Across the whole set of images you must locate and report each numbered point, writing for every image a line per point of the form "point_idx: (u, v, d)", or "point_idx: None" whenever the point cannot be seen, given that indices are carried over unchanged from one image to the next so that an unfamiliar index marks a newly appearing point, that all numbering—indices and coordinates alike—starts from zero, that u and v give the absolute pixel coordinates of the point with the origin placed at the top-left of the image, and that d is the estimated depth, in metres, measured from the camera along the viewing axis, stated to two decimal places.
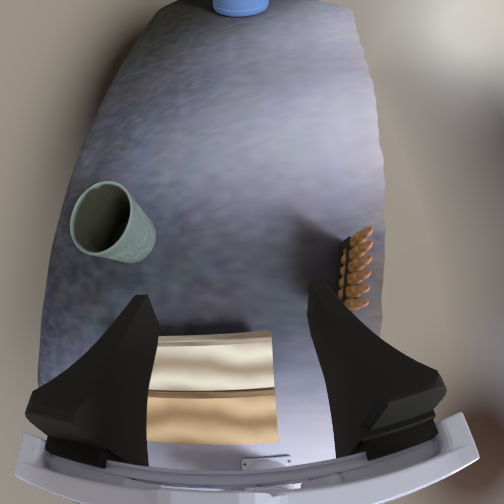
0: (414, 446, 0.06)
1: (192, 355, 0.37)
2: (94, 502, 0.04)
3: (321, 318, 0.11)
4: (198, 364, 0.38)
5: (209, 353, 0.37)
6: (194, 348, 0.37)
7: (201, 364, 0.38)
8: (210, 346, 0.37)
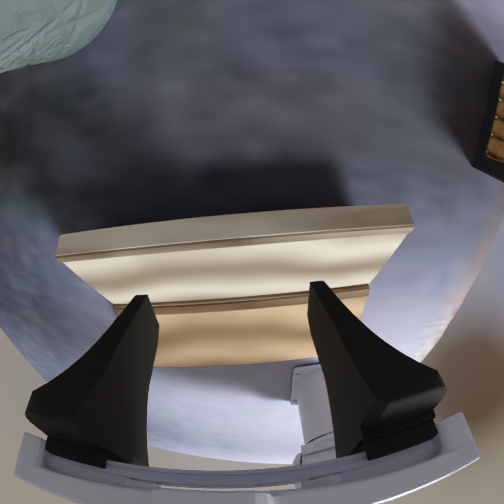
0: (414, 446, 0.06)
1: (234, 259, 0.17)
2: (94, 502, 0.04)
3: (321, 318, 0.11)
4: (245, 269, 0.19)
5: (276, 253, 0.17)
6: (242, 248, 0.16)
7: (253, 269, 0.19)
8: (283, 243, 0.16)
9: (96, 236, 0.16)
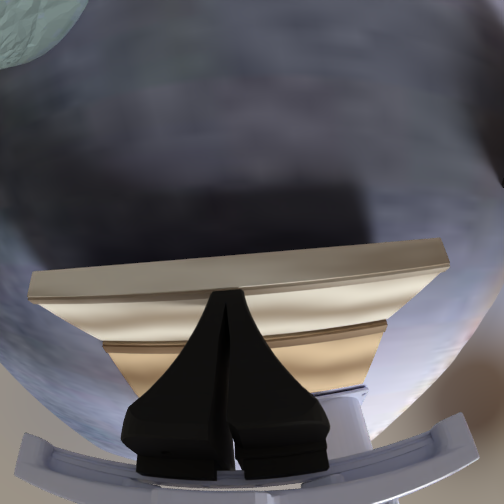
0: (302, 475, 0.06)
1: None
2: (94, 502, 0.04)
3: None
4: None
5: (287, 299, 0.14)
6: (247, 297, 0.13)
7: (259, 314, 0.15)
8: (296, 291, 0.13)
9: (71, 277, 0.12)
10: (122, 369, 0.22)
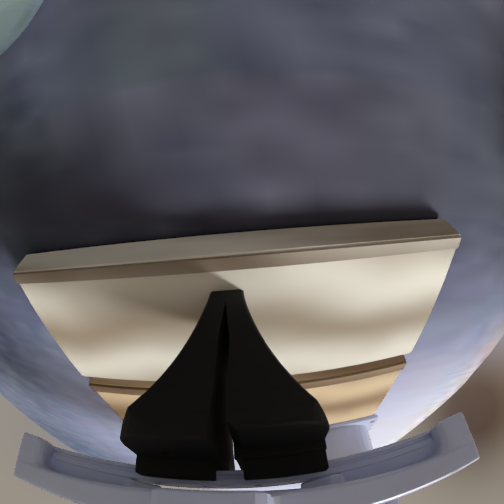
0: (302, 475, 0.06)
1: None
2: (94, 502, 0.04)
3: None
4: None
5: (291, 289, 0.12)
6: (245, 276, 0.12)
7: (261, 322, 0.13)
8: (300, 267, 0.12)
9: (62, 255, 0.12)
10: (112, 405, 0.18)
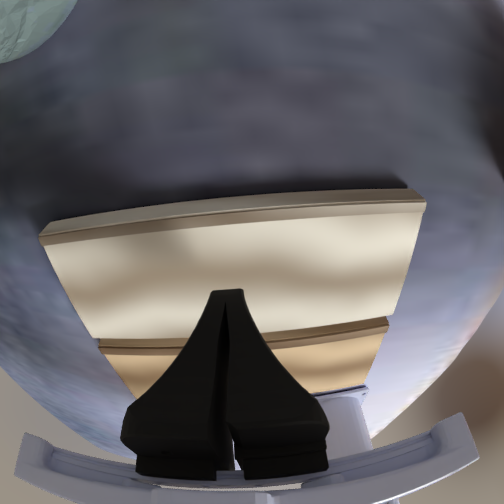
0: (302, 475, 0.06)
1: (231, 252, 0.15)
2: (94, 502, 0.04)
3: None
4: (244, 275, 0.16)
5: (279, 243, 0.15)
6: (240, 231, 0.14)
7: (254, 274, 0.16)
8: (285, 223, 0.14)
9: (85, 219, 0.14)
10: (118, 370, 0.21)
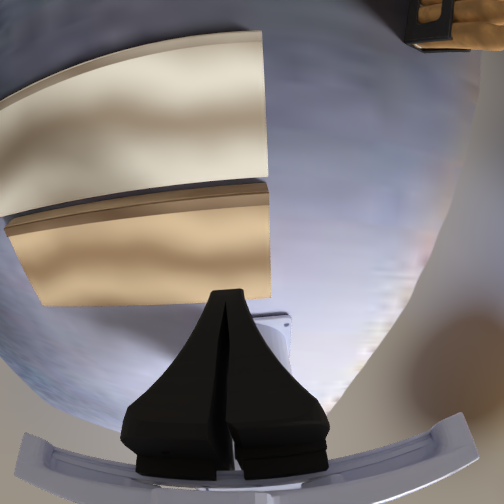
0: (302, 475, 0.06)
1: (83, 99, 0.13)
2: (94, 502, 0.04)
3: None
4: (94, 121, 0.14)
5: (118, 84, 0.13)
6: (88, 78, 0.13)
7: (102, 119, 0.14)
8: (120, 65, 0.13)
9: None
10: (21, 260, 0.20)
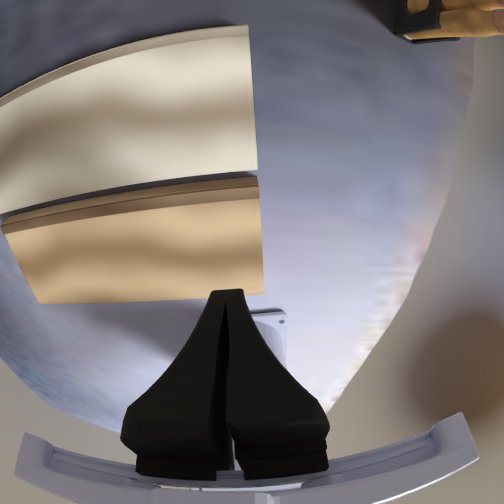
0: (302, 475, 0.06)
1: (75, 97, 0.13)
2: (94, 502, 0.04)
3: None
4: (86, 118, 0.14)
5: (108, 81, 0.13)
6: (80, 76, 0.13)
7: (93, 116, 0.14)
8: (110, 62, 0.13)
9: None
10: (17, 257, 0.20)
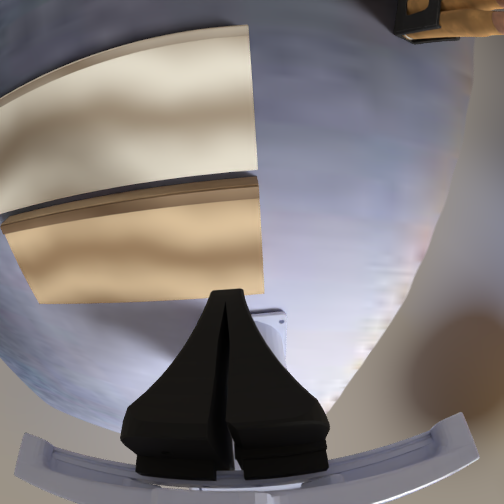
0: (302, 475, 0.06)
1: (75, 97, 0.13)
2: (94, 502, 0.04)
3: None
4: (86, 118, 0.14)
5: (108, 81, 0.13)
6: (80, 76, 0.13)
7: (93, 116, 0.14)
8: (110, 62, 0.13)
9: None
10: (17, 257, 0.20)
